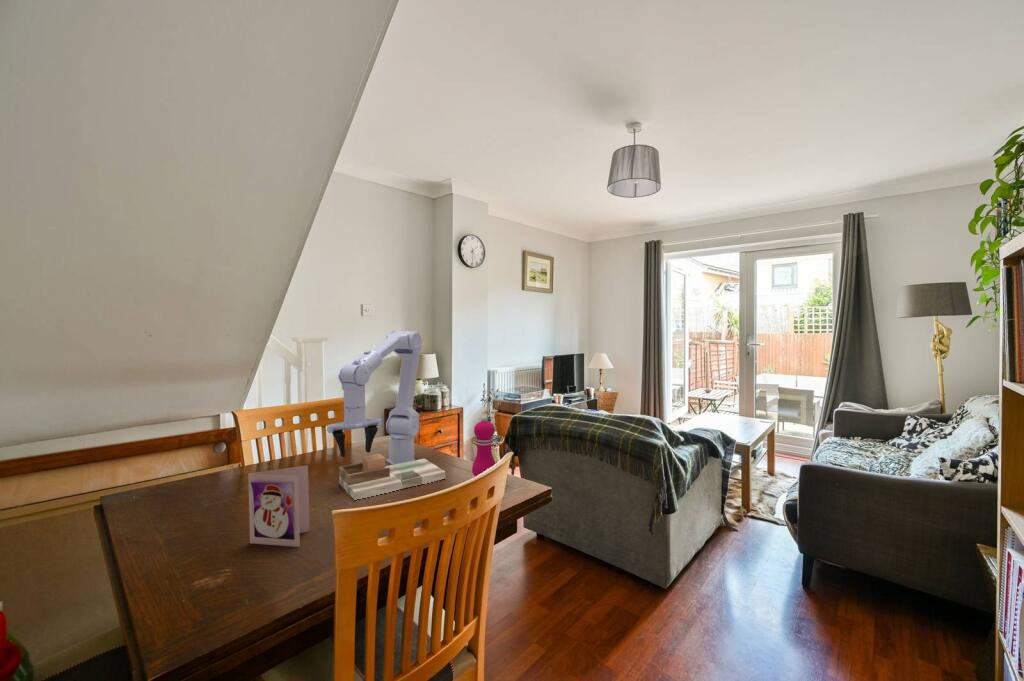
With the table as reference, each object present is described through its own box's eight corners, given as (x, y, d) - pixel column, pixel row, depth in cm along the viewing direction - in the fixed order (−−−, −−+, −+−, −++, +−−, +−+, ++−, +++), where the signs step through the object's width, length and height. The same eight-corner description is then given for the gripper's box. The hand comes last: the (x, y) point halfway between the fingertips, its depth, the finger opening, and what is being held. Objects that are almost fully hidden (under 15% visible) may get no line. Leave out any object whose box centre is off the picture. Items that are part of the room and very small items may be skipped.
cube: (362, 473, 127) (362, 456, 126) (379, 469, 129) (379, 453, 129) (368, 478, 123) (367, 461, 122) (385, 474, 125) (385, 457, 125)
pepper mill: (498, 480, 128) (498, 413, 127) (495, 489, 121) (495, 418, 120) (474, 479, 128) (474, 413, 128) (469, 488, 121) (469, 418, 120)
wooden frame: (339, 475, 125) (339, 466, 125) (378, 467, 132) (378, 459, 132) (348, 485, 117) (348, 476, 117) (389, 476, 124) (389, 468, 124)
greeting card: (247, 545, 91) (245, 475, 90) (271, 528, 98) (269, 463, 97) (297, 549, 89) (295, 477, 88) (317, 531, 96) (316, 465, 96)
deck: (339, 483, 125) (339, 475, 125) (424, 466, 140) (424, 458, 140) (354, 501, 113) (354, 491, 113) (445, 479, 128) (445, 471, 128)
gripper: (331, 412, 115) (332, 462, 115) (384, 405, 123) (385, 452, 124) (325, 407, 120) (325, 455, 121) (376, 402, 129) (377, 447, 129)
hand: (355, 453), depth 123 cm, fingers open, 6 cm apart
